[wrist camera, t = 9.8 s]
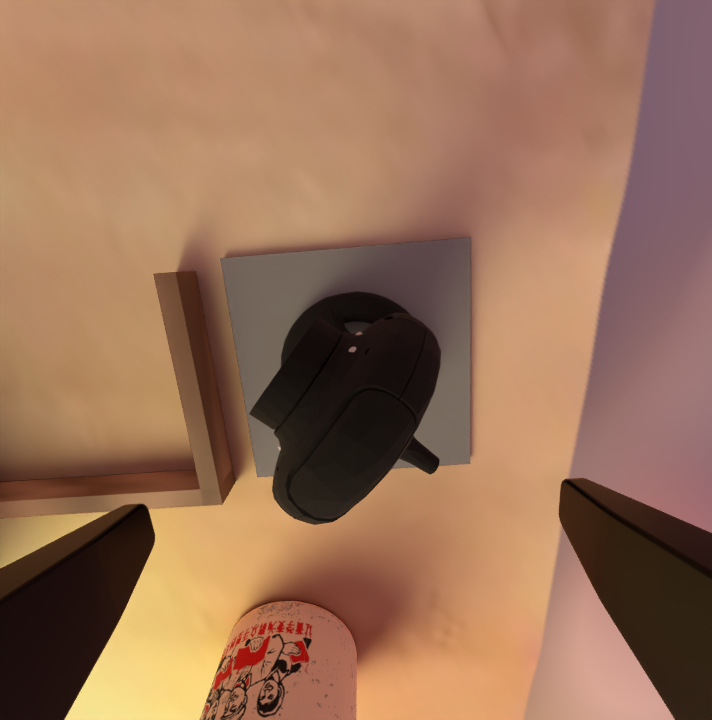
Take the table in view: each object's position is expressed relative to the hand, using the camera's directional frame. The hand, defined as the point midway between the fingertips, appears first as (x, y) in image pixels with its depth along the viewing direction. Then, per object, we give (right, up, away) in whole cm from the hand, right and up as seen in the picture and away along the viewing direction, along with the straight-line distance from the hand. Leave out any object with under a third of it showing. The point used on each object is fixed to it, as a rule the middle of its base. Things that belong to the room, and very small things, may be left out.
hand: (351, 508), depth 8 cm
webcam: (0, +3, +11) cm, 11 cm away
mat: (0, +3, +11) cm, 12 cm away
